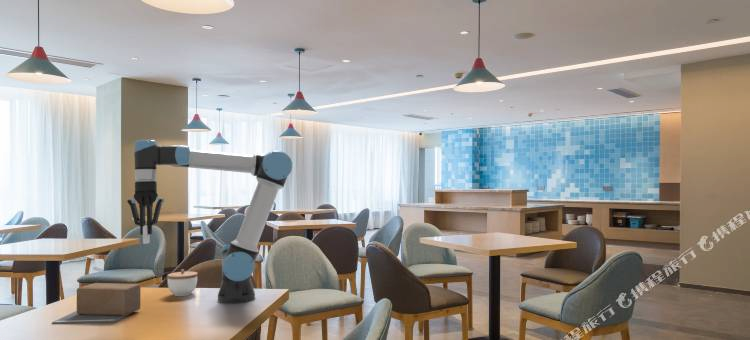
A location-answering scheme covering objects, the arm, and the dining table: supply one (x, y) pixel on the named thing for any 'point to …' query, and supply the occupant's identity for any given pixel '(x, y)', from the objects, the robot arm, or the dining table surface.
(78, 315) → the mat
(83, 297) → the wooden block
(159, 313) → the dining table surface
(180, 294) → the lidded bowl
